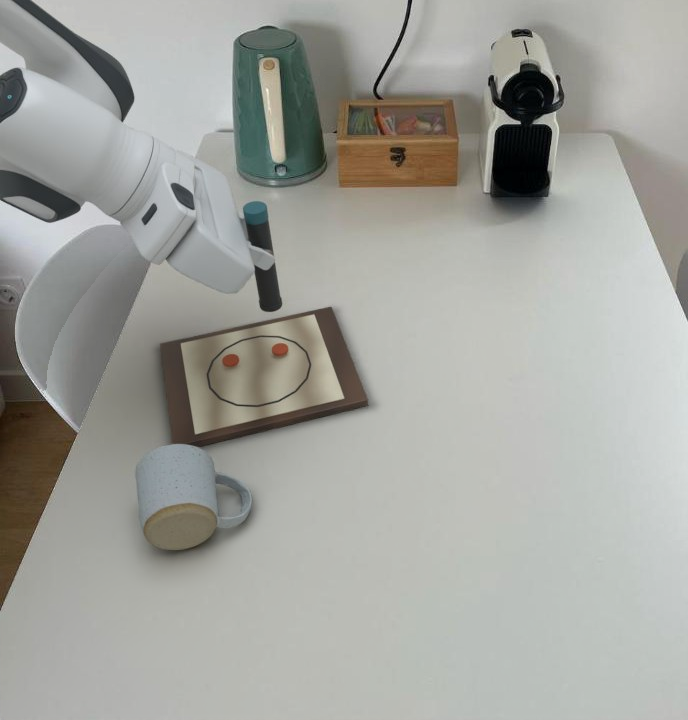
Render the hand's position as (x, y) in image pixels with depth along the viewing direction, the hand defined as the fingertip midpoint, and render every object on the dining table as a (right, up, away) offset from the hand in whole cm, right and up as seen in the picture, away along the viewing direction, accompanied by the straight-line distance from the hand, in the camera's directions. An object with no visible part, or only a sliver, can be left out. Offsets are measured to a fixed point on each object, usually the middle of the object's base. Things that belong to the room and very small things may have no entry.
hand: (267, 252), depth 88 cm
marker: (0, -5, +5) cm, 7 cm away
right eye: (0, -10, +10) cm, 14 cm away
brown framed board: (-2, -14, +9) cm, 16 cm away
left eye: (-6, -12, +9) cm, 16 cm away
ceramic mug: (-6, -28, -6) cm, 29 cm away
